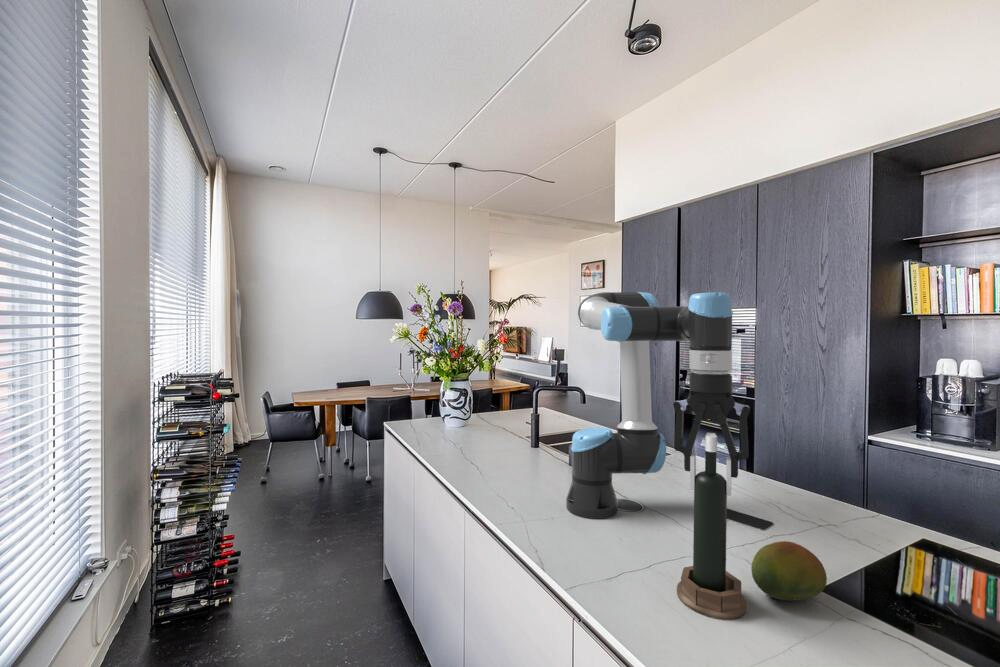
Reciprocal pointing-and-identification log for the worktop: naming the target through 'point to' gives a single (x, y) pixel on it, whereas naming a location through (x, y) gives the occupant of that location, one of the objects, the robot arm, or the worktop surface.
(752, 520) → the smartphone
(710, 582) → the wine bottle
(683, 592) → the bowl
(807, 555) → the fruit
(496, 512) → the worktop surface
